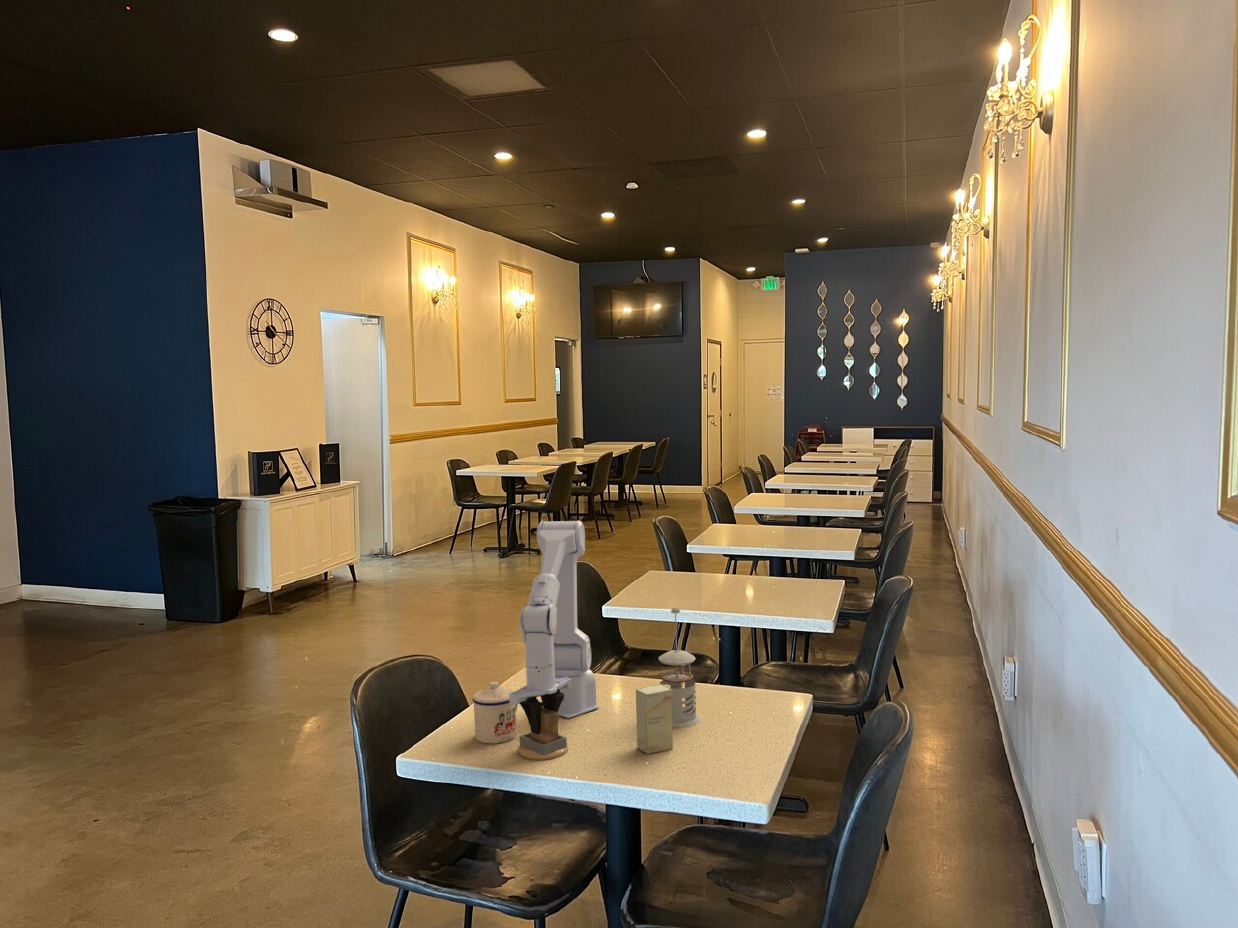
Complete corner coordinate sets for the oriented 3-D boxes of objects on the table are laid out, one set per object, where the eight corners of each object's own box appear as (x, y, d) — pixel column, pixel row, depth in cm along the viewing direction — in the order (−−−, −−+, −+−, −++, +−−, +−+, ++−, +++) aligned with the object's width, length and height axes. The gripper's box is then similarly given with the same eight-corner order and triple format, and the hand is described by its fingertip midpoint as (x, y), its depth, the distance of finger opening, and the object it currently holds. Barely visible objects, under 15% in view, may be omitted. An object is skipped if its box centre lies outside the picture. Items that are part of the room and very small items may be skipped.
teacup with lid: (499, 747, 184) (497, 691, 183) (465, 740, 189) (462, 685, 188) (533, 728, 194) (531, 675, 194) (500, 722, 199) (498, 670, 198)
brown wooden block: (543, 740, 184) (542, 706, 184) (558, 746, 180) (557, 712, 180) (531, 744, 182) (530, 710, 181) (547, 750, 178) (545, 716, 178)
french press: (649, 724, 194) (646, 610, 193) (667, 707, 205) (664, 599, 203) (693, 729, 191) (690, 613, 189) (708, 711, 201) (706, 601, 200)
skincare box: (647, 754, 178) (645, 694, 177) (636, 747, 182) (634, 688, 181) (674, 748, 181) (672, 689, 180) (663, 741, 184) (661, 683, 184)
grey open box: (547, 737, 189) (546, 724, 189) (578, 749, 181) (577, 735, 181) (508, 750, 182) (508, 737, 182) (539, 764, 175) (538, 749, 174)
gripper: (523, 676, 173) (526, 745, 174) (580, 660, 183) (582, 725, 183) (501, 669, 178) (504, 736, 179) (558, 653, 188) (560, 717, 189)
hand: (542, 730), depth 181 cm, fingers closed on brown wooden block, 3 cm apart
